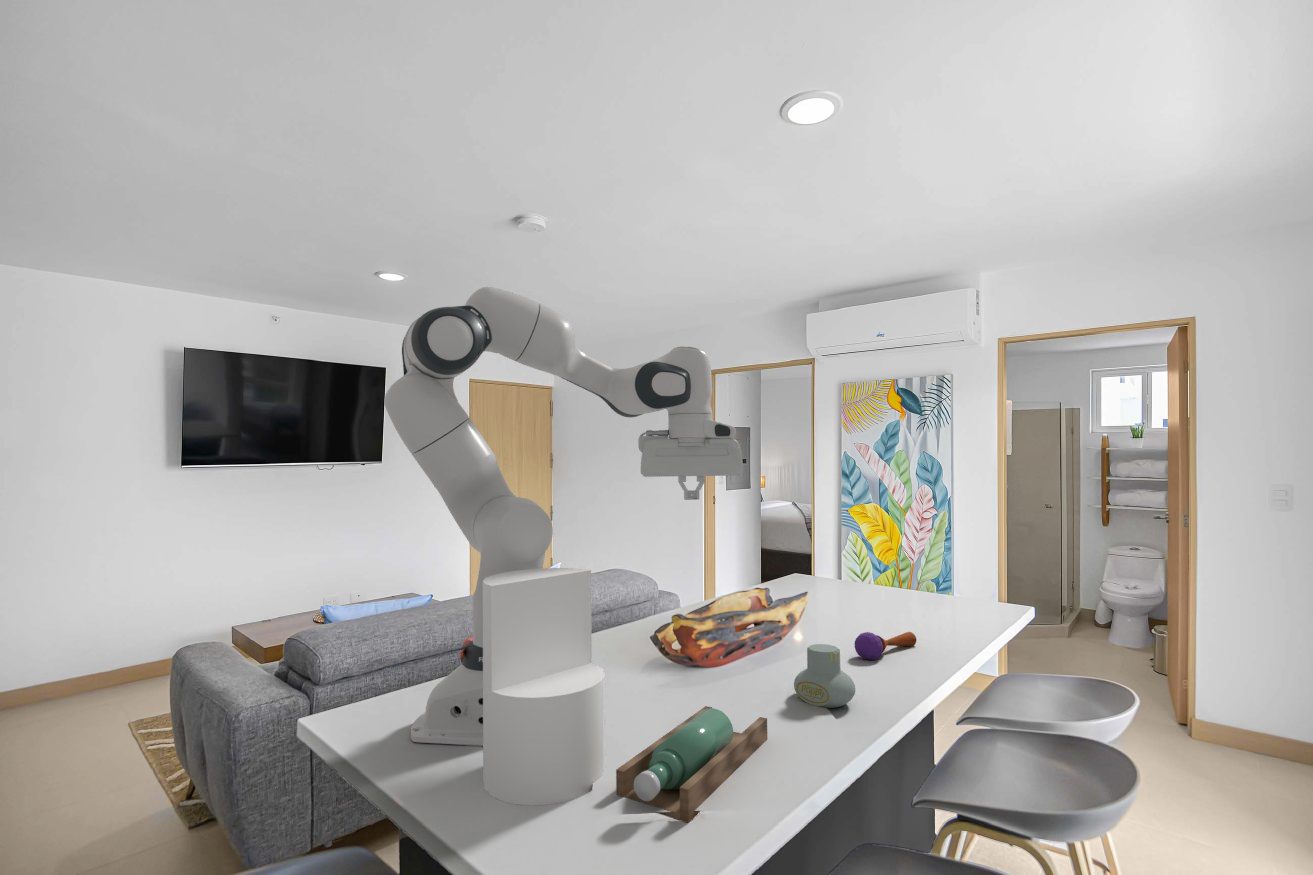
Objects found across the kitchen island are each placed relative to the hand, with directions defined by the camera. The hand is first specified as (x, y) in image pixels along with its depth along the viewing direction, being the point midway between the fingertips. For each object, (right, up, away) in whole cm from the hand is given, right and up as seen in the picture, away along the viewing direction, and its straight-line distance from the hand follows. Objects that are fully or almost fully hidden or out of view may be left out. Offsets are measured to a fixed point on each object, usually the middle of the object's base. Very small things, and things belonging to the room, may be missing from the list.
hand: (691, 499), depth 130 cm
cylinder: (-23, -36, -36) cm, 56 cm away
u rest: (-1, -36, -35) cm, 50 cm away
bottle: (+2, -32, -30) cm, 44 cm away
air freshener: (+24, -37, -9) cm, 45 cm away
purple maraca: (+46, -38, +22) cm, 64 cm away
